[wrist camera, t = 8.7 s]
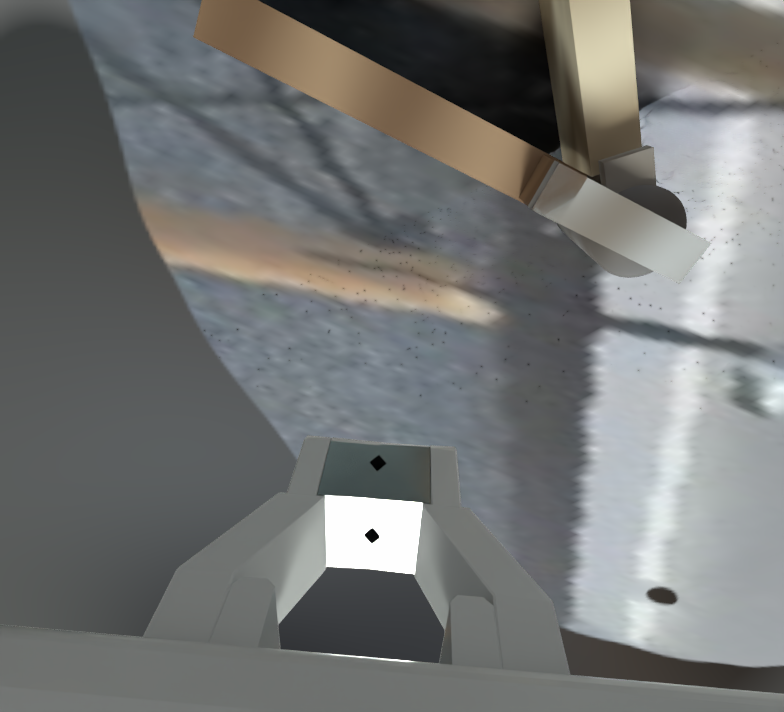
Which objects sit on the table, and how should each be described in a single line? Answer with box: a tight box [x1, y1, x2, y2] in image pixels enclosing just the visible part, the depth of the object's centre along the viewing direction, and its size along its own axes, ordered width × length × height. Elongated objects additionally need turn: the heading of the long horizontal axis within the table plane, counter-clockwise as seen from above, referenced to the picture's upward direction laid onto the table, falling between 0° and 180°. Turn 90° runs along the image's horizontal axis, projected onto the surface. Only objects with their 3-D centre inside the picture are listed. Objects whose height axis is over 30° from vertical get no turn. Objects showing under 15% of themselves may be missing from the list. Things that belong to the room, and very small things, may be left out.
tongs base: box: [539, 0, 687, 278], centre depth 19 cm, size 20×4×6 cm, turn 18°
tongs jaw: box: [193, 0, 711, 284], centre depth 20 cm, size 20×2×6 cm, turn 65°
